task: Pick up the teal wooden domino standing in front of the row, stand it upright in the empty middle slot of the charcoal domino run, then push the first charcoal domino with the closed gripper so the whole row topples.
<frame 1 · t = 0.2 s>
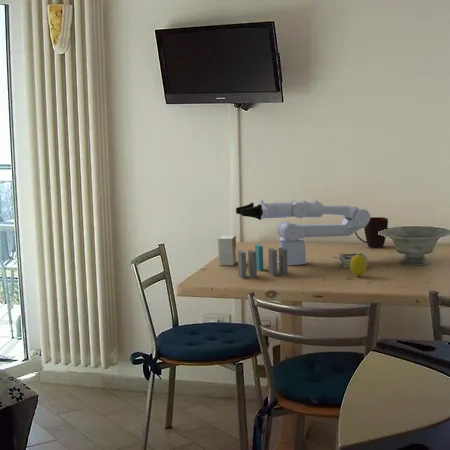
hand: (238, 211, 254), 21 cm above the table, tool horizontal, fingers open, 7 cm apart
teal domino: (259, 269, 253), on the table
domino 2: (273, 274, 243), on the table
small box: (227, 264, 265), on the table
domino 5: (242, 276, 241), on the table
domino 1: (283, 273, 244), on the table
cup: (371, 247, 291), on the table
handheld gaming console: (353, 265, 256), on the table
lemon: (358, 277, 236), on the table
domino 4: (252, 276, 242), on the table
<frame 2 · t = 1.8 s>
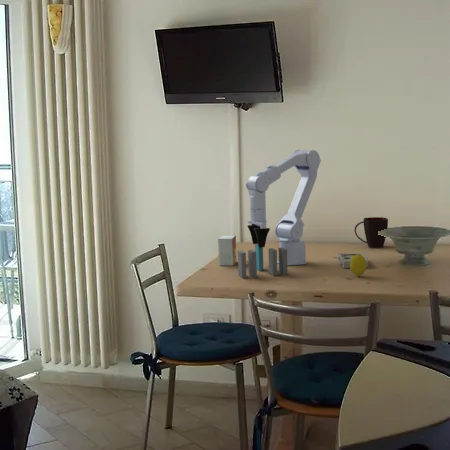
hand: (258, 245, 251), 9 cm above the table, tool pointing down, fingers open, 7 cm apart
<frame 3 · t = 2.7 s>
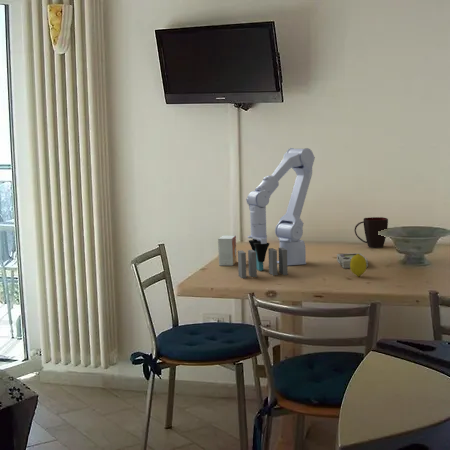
hand: (259, 260, 252), 3 cm above the table, tool pointing down, fingers closed on teal domino, 5 cm apart
teal domino: (259, 269, 253), on the table, touching gripper
everything else where it was.
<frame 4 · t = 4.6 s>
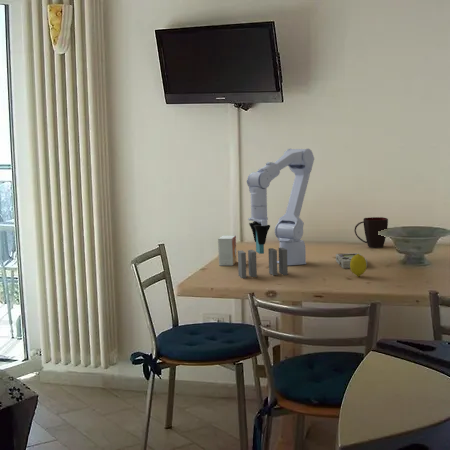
hand: (259, 243, 247), 10 cm above the table, tool pointing down, fingers closed on teal domino, 5 cm apart
teal domino: (260, 252, 248), point 7 cm above the table, touching gripper
when the fingers open (4 cm above the table, at t = 6.8 s): teal domino stays where it is, on the table.
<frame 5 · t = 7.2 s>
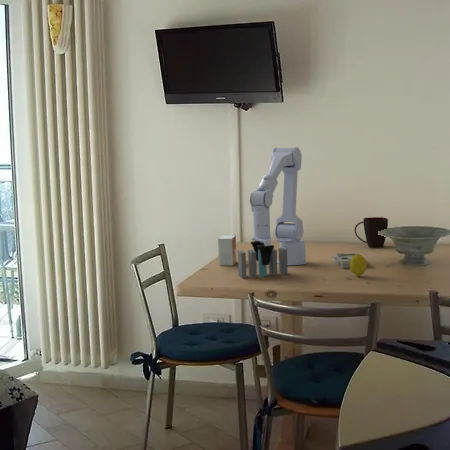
hand: (262, 262, 242), 4 cm above the table, tool pointing down, fingers open, 7 cm apart
teal domino: (262, 275, 243), on the table
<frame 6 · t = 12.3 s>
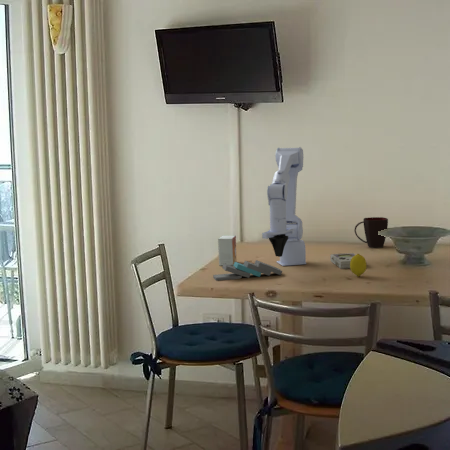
hand: (278, 256, 243), 6 cm above the table, tool pointing down, fingers closed
teal domino: (258, 273, 242), point 1 cm above the table, tilted 66°, touching domino 2
domino 2: (268, 272, 243), point 1 cm above the table, tilted 66°, touching domino 1, teal domino
domino 5: (239, 276, 241), on the table, tilted 90°
domino 1: (279, 271, 244), point 1 cm above the table, tilted 66°, touching domino 2
domino 4: (247, 274, 241), point 1 cm above the table, tilted 69°
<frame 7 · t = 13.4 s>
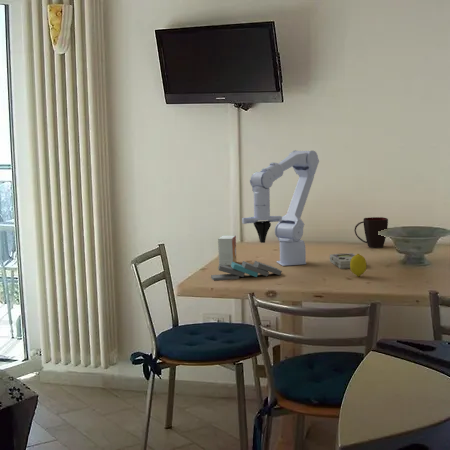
hand: (262, 242, 249), 10 cm above the table, tool pointing down, fingers closed
teal domino: (255, 273, 242), point 1 cm above the table, tilted 66°, touching domino 2, domino 4
domino 4: (243, 273, 242), point 1 cm above the table, tilted 72°, touching teal domino
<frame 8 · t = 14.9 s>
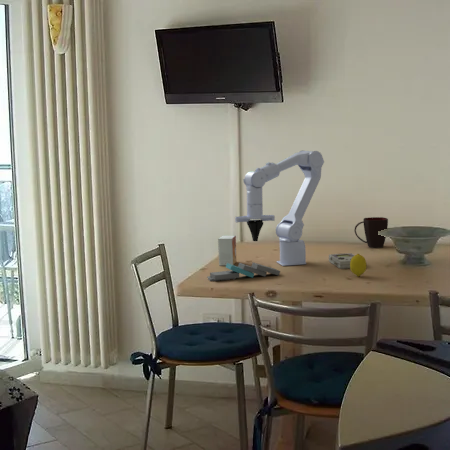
hand: (255, 240, 253), 10 cm above the table, tool pointing down, fingers closed
teal domino: (251, 274, 241), point 1 cm above the table, tilted 66°, touching domino 2, domino 4
domino 2: (263, 273, 242), point 1 cm above the table, tilted 67°, touching teal domino
domino 5: (233, 278, 240), on the table, tilted 90°, touching domino 4
domino 1: (276, 272, 244), point 1 cm above the table, tilted 69°
domino 4: (236, 273, 240), point 1 cm above the table, tilted 90°, touching domino 5, teal domino
at the end: domino 5 tilted 90°; teal domino tilted 63°; teal domino inside the target area (1.5 cm from its centre), point 0.7 cm above the table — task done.
